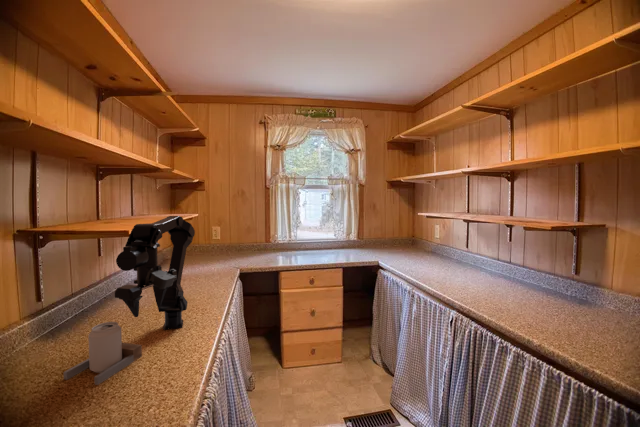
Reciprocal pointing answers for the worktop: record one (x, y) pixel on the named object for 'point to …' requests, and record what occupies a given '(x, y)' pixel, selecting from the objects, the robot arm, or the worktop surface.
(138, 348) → the stop block
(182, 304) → the robot arm
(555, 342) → the worktop surface
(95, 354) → the can
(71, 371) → the guide rails
